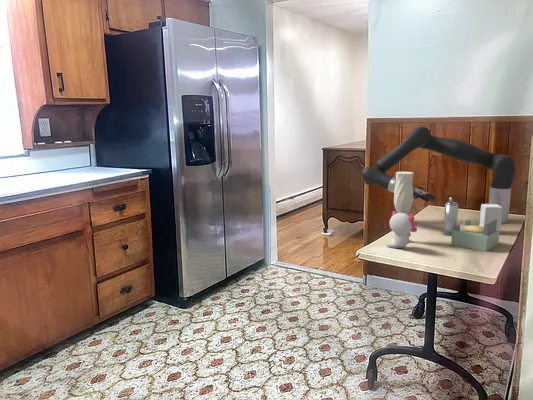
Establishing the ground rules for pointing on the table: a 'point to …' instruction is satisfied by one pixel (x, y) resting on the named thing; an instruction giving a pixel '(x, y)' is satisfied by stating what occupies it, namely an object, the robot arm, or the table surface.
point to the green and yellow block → (476, 235)
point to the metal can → (450, 217)
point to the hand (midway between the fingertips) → (432, 199)
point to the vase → (403, 192)
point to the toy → (401, 229)
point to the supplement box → (491, 214)
